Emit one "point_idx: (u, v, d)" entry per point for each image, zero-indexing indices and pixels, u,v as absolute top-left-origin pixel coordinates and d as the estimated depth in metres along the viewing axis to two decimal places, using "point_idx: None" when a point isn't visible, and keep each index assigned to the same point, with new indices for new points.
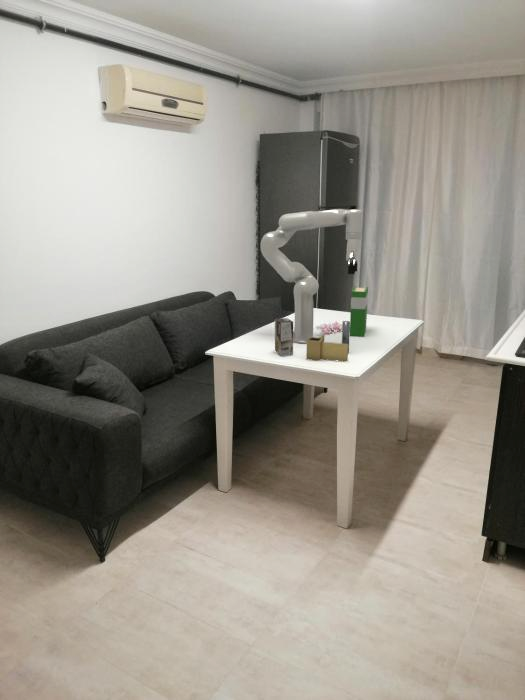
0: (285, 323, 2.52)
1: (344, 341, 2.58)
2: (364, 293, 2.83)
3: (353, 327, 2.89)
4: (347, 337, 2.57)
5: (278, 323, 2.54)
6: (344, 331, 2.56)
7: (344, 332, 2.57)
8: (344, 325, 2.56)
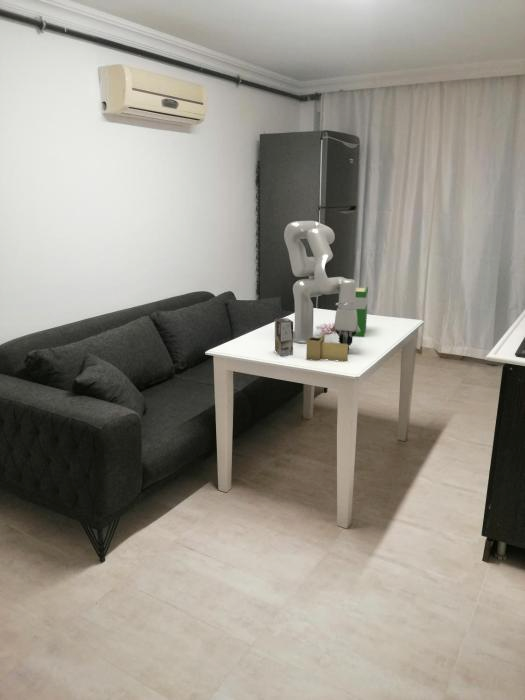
0: (285, 323, 2.52)
1: (344, 341, 2.58)
2: (364, 293, 2.83)
3: None
4: (347, 337, 2.57)
5: (278, 323, 2.54)
6: (344, 331, 2.56)
7: (344, 332, 2.57)
8: None
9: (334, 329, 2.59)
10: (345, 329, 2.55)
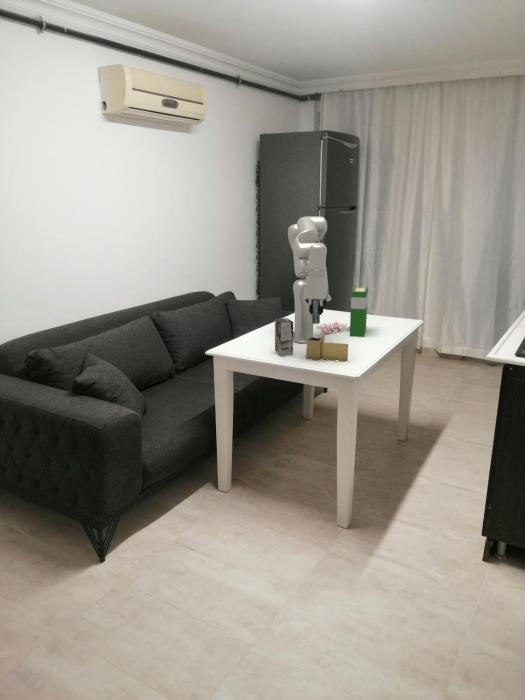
0: (285, 323, 2.52)
1: (314, 310, 2.44)
2: (364, 293, 2.83)
3: (353, 327, 2.89)
4: (317, 306, 2.44)
5: (278, 323, 2.54)
6: (314, 299, 2.43)
7: (314, 301, 2.43)
8: None
9: (304, 298, 2.46)
10: (315, 297, 2.41)
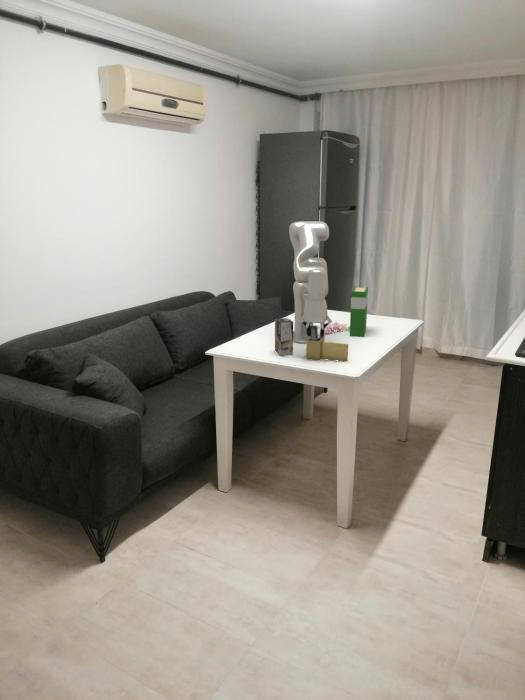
0: (285, 323, 2.52)
1: None
2: (364, 293, 2.83)
3: (353, 327, 2.89)
4: None
5: (278, 323, 2.54)
6: (312, 335, 2.48)
7: (312, 337, 2.48)
8: (311, 330, 2.47)
9: (302, 320, 2.49)
10: (314, 321, 2.44)
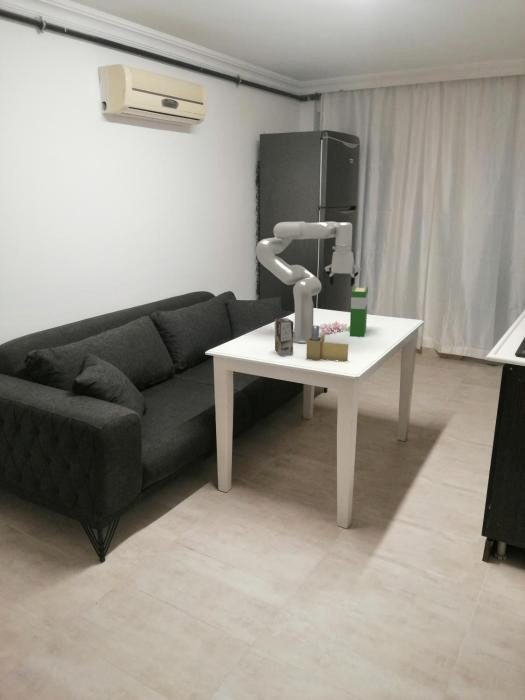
0: (285, 323, 2.52)
1: None
2: (364, 293, 2.83)
3: (353, 327, 2.89)
4: None
5: (278, 323, 2.54)
6: (313, 336, 2.47)
7: (313, 337, 2.48)
8: (313, 330, 2.47)
9: (326, 269, 2.64)
10: (341, 272, 2.60)
